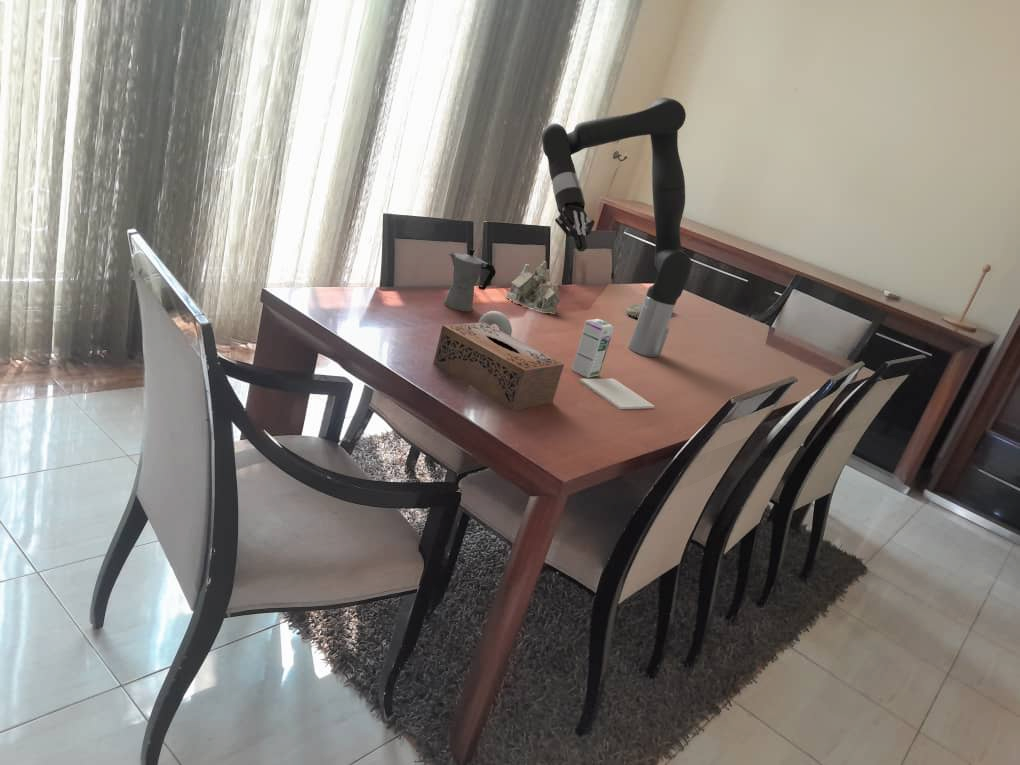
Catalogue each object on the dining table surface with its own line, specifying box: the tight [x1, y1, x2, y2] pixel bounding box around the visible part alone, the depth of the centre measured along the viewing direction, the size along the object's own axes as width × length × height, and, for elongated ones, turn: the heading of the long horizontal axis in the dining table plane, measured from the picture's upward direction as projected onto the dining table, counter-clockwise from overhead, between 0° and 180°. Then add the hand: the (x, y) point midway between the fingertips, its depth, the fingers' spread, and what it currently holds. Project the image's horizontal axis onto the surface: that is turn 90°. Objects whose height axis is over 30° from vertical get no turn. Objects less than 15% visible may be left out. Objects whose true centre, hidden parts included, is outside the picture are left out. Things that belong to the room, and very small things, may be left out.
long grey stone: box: [625, 302, 643, 318], centre depth 284 cm, size 35×5×10 cm
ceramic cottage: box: [506, 260, 561, 314], centre depth 247 cm, size 16×16×15 cm
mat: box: [579, 378, 655, 410], centre depth 189 cm, size 16×12×1 cm
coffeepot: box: [443, 248, 497, 312], centre depth 222 cm, size 15×9×18 cm, turn 70°
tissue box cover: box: [433, 321, 565, 412], centre depth 172 cm, size 26×14×10 cm, turn 50°
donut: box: [478, 310, 513, 337], centre depth 195 cm, size 10×4×10 cm, turn 60°
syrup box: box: [571, 318, 615, 379], centre depth 196 cm, size 6×6×14 cm
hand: (582, 250), depth 198 cm, fingers closed
